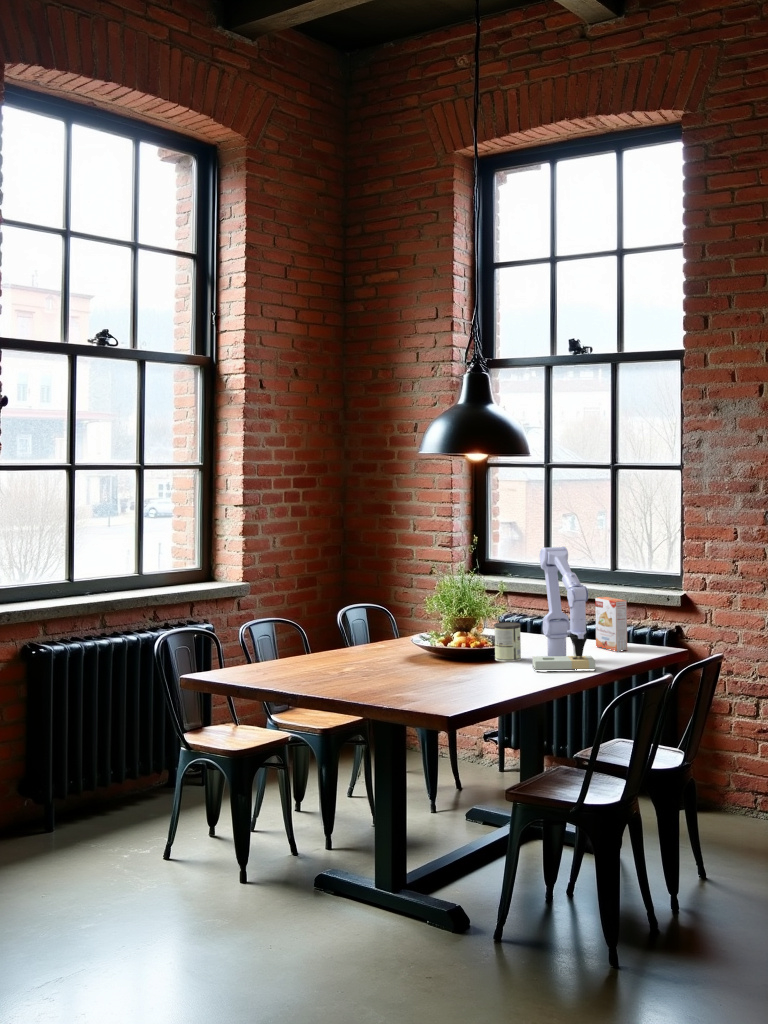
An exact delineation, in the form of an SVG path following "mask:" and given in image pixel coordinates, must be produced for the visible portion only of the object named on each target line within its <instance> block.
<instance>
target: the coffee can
mask: <svg viewBox="0 0 768 1024" xmlns="http://www.w3.org/2000/svg"><path fill="white" fill-rule="evenodd" d="M493 626H494V660H495V661H496V662H501V663H504V662H505V663H513V662H520V661H522V656H521V655H522V654H521V653H522V652H521V651H522V649H521V647H522V645H521V623H519V622H516V621H515V622H514V621H513V622H511V621H510V622H509V621H506V622H496V623H494V625H493Z"/></svg>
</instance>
